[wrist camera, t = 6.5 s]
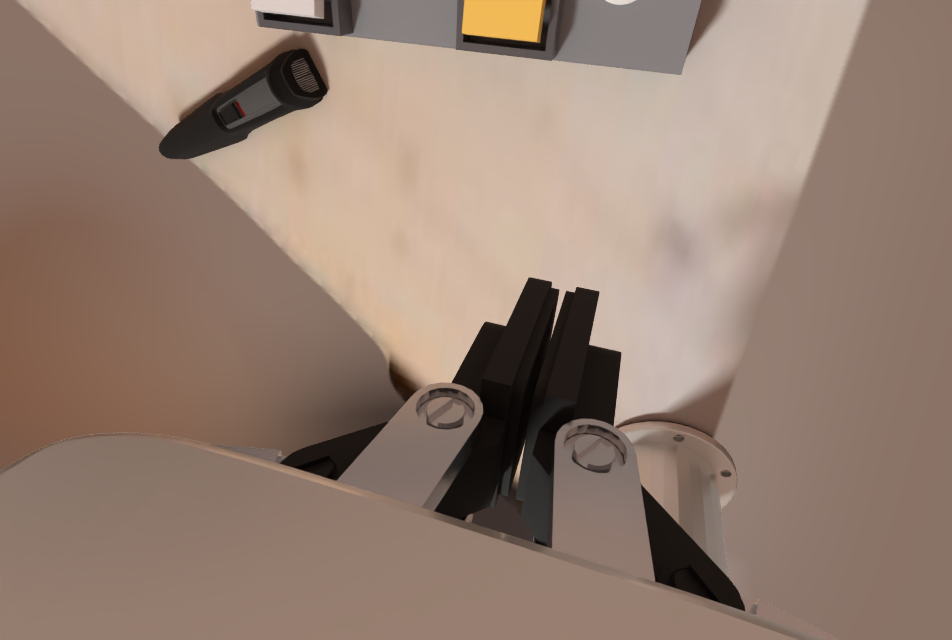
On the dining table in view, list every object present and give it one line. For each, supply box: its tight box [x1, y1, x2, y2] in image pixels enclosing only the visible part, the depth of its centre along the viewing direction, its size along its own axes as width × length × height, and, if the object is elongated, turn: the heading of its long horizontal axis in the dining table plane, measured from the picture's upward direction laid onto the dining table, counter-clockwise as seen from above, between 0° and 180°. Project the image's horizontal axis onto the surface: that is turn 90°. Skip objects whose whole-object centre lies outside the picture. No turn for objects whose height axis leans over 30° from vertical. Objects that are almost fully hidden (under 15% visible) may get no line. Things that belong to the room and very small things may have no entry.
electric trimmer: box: [159, 49, 327, 159], centre depth 38 cm, size 4×16×3 cm, turn 114°
